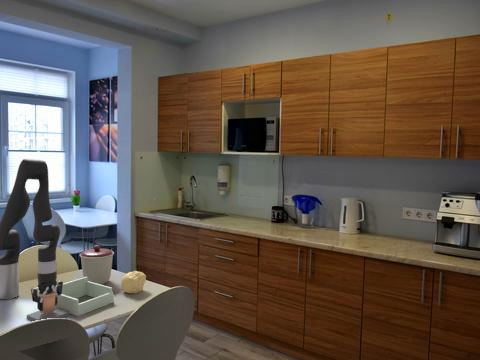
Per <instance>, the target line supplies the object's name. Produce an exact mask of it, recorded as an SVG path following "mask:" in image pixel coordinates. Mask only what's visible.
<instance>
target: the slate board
mask: <svg viewBox="0 0 480 360" xmlns="http://www.w3.org/2000/svg"><path fill="white" fill-rule="evenodd" d="M67 316H69V313H68V312H67V311H64V310H61V309H58V308H55V311H53V312H50V313H41V312H40V310H37V311H34V312H31V313H28V314H26V319H27V318H28V319H27V320H29V319H30V321H32V320H33V321H32V322H34V321H35V320H41V319H47V318H60V319H63V318H65V317H67Z"/></svg>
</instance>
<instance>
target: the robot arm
mask: <svg viewBox="0 0 480 360" xmlns="http://www.w3.org/2000/svg"><path fill="white" fill-rule="evenodd" d="M16 172H17V173H16V176H15V181H14V184H13V187H12V190H11V193H10V195H9V198H8V200H7V203H6V206H5V210H4V212H3V215H2V217H1V220H0V251H4V253H3V254H1V255H0V299H8V300H11V299H10V298H13V299H15V298H14V297H16V298H18V297H20V272H19V271H20V270H19V269H20V268H19V258H20V255H21V252H20V250H21V249H20V248H21V236H20V234H19V231H18V230H16V229H13V228H14V227H15V226H16V225H17V224H18V223H19V222H21V221H22V220H23V218H25V217H26V215H27V213H28V211H29V208H30V205H31V198H30V196H29V193H28V191H27V189H26V188H27V187H26V184H27V181H28V180H38V183H39V185H38V189H37V192H36V193H35V195H34V198H33V200H32V210H33V216H34V225H33V231H32V237H33V240H34V241H35V242H37V243H43V242H47V244H46V245H43V246H41V247H39V248H38V250H37V284H38V285H37V287H32V288H31V289H30V292H31V294H30V295H31V299H32V300H31V301H32V302H35V303H37V310H38V311H42V310H43V302H42V301H43V297H44V295H46V294H47V293H50V292H56V294H55V306H56V305H57V303H58V301H57V300H58V296H59V295H61V294H62V287H63V283H64V281H62V280H58V279H57V278H58V276H57V275H58V274H57V273H58V272H57V255H56V254H57V247H58V243H59V239H60V237H61V236H60V235H61V229H60V226H59V225H58V224H54V223H52V224H46V225H42V224H43V223H46V222H49V221H51V220H52V219H53V213H52V207H51V203H50V193H49V192H50V189H49V187H50V184H49V183H50V182H49V181H50V180H49V168H48V164H47V162H46V161H44V160H42V159H35V158H32V159H31V158H23V159H22V160H21V161H20V163H19V165H18V167H17V171H16ZM56 286H57V289H55V287H56ZM41 293H42V295H41ZM17 296H18V297H17ZM40 296H41V298H40Z"/></svg>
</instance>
